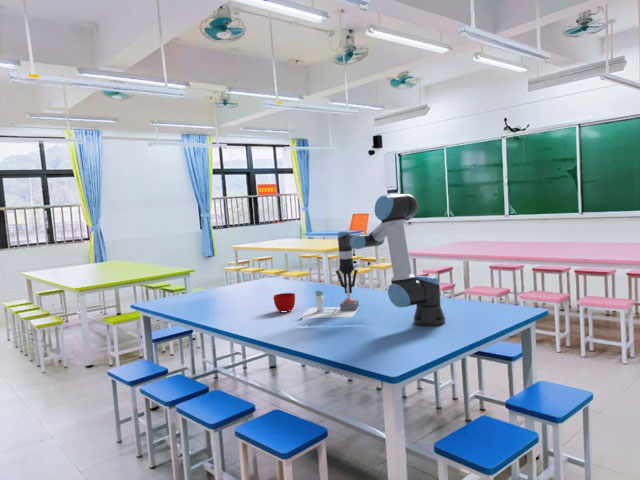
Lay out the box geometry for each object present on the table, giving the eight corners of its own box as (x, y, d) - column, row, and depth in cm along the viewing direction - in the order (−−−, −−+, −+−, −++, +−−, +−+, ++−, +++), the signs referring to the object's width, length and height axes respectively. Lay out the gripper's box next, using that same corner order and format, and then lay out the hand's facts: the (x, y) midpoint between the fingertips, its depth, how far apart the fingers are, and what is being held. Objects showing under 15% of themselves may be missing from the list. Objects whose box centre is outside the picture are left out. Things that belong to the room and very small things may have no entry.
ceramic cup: (298, 307, 288) (297, 291, 287) (294, 313, 271) (293, 296, 270) (278, 308, 289) (276, 292, 288) (272, 314, 272) (271, 297, 271)
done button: (353, 307, 263) (352, 299, 263) (344, 307, 264) (343, 300, 264) (354, 305, 268) (354, 298, 268) (346, 305, 269) (345, 298, 269)
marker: (323, 311, 263) (321, 291, 262) (316, 312, 264) (314, 291, 263) (325, 310, 267) (323, 289, 266) (318, 310, 268) (316, 290, 267)
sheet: (352, 319, 247) (352, 316, 246) (299, 319, 254) (298, 317, 254) (359, 308, 270) (359, 306, 270) (310, 309, 277) (310, 307, 277)
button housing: (356, 310, 261) (355, 303, 260) (340, 310, 263) (340, 303, 263) (358, 306, 269) (358, 300, 269) (343, 307, 272) (343, 300, 271)
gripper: (358, 256, 266) (361, 297, 268) (336, 257, 269) (339, 297, 271) (356, 258, 259) (359, 299, 261) (333, 259, 262) (336, 300, 264)
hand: (348, 298), depth 266 cm, fingers closed
